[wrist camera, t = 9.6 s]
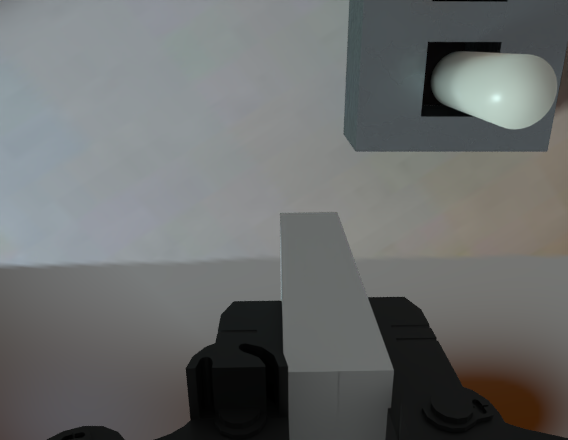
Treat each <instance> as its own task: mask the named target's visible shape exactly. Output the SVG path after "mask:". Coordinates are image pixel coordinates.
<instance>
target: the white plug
mask: <svg viewBox="0 0 568 440" xmlns="http://www.w3.org/2000/svg"><path fill="white" fill-rule="evenodd" d="M431 89H432V92H433V94H434V96H435V98H436V99H437V100H438V101H439V102H440V103H442V104H443V105H446V106H448V107H451V108H453V109H456V110H459V111H461V112H464V113H467V114H469V115H472V116H475V117H477V118H480V119H483V120H485V121H488V122H490V123H493V124H496V125H498V126H501V127H504V128H507V129H522V128H526V127H529V126H531V125H533V124H535V123H536V122H538V121H539V120H541V119H542V118H543V117H544V116H545V115H546V114H547V112H548V111H549V110H550V108H551V107H552V105H553V103H554V100H555V97H556V93H557V78H556V75H555V72H554V70H553V68H552V67H551V65H550V64H549V63H548V62H547V61H545V60H544V59H542V58H541V57H538V56H535V55H530V54H510V53H490V52H469V51H457V52H453V53H450V54H448V55H446V56H445V57H443V58H442V59H441V60H440V61H439V62H438V63H437V65H436V66H435V68H434V70H433V72H432V76H431Z"/></svg>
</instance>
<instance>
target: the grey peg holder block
mask: <svg viewBox="0 0 568 440" xmlns="http://www.w3.org/2000/svg"><path fill="white" fill-rule="evenodd" d="M428 42H465V44H464V51H469V52H490V53H510V54H530V55H535V56H538V57H541V58H542V59H544V60H545V61H547V62H548V63H549V64H550V65H551V67H552V68H553V70H554V72H555V75H556V78H557V93H556V97H555V100H554V103H553V105H552V107H551V108H550V110H549V111H548V112H547V114H546V115H545V116H544V117H543V118H542V119H541V120H539V121H538V122H536V123H535V124H533V125H531V126H529V127H526V128H522V129H507V128H504V127H501V126H498V125H496V124H493V123H490V122H488V121H485V120H483V119H480V118H477V117H475V116H472V115H469V114H467V113H464V112H461V111H459V110H456V109H453V108H451V107H448V106H446V105H422V99H423V88H424V78H425V68H426V57H427V47H428ZM567 43H568V0H470V1H432V0H350V2H349V25H348V47H347V70H346V93H345V116H344V136H345V137H346V138H347V140H348V141H349V143H350V144H351V145H352V147H353V148H354V150H355V151H547V150H548V145H549V139H550V134H551V129H552V123H553V118H554V113H555V107H556V102H557V97H558V91H559V86H560V81H561V75H562V70H563V65H564V59H565V54H566V49H567Z"/></svg>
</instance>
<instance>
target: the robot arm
mask: <svg viewBox="0 0 568 440" xmlns="http://www.w3.org/2000/svg"><path fill="white" fill-rule="evenodd" d="M280 250H281V301H235V302H233V303H232V304H231V305H230V306H229V307H228V308H227V309H226V310H225V311H224V312H223V313H222V314H221V318H220V323H219V328H218V334H217V338H216V343H215V344H212V345H209V346H207V347H205V348H204V349H202V350H201V351H199V352H198V353H197V354H195V355H194V356H193V357H192V359H191V360H190V362H189V364H188V366H187V367H186V376H187V386H188V397H189V407H190V418H191V420H190V421H189V422H188V423H187V424H186V425H185V426H184V427H182V428H180V429H178V430H177V431H175V432H173V433H171V434H169V435H166V436H164V437H161V438H158V439H155V440H568V438H564V437H560V436H555V435H550V434H546V433H541V432H536V431H531V430H527V429H523V428H520V427H516V426H513V425H510V424H508V423H505V422H504V420H503V419H502V417H501V415H500V414H499V412H498V411H497V410H496V409H495V408H494V406H493V405H492V404H491V403H490V402H489V401H488V400H487V399H485V398H484V397H482V396H481V395H479V394H477V393H476V392H474V391H473V390H470V389H467V388H464V387H463V386H462V385H461V382H460V380H459V379H458V377H457V375H456V373H455V371H454V369H453V368H452V366H451V364H450V362H449V360H448V358H447V357H446V355H445V353H444V351H443V349H442V347H441V345H440V344H439V342H438V341H437V340H436V336H435V334H434V332H433V331H432V329H431V328H430V327H429V323H428V321H427V319H426V318H425V316H424V314H423V312H422V310H421V309H420V308H418V307H417V306H416V305H414V304H413V303H412V302H410V301H409V300H408V299H406V298H405V297H367V294H366V291H365V288H364V286H363V283H362V280H361V277H360V274H359V272H358V269H357V266H356V263H355V260H354V258H353V255H352V252H351V249H350V247H349V244H348V241H347V238H346V235H345V233H344V230H343V227H342V224H341V221H340V219H339V216H338V213H337V212H316V213H280ZM47 440H124V438H123V437H122V436H121V435H120V434H119V433H118V432H117V431H114V430H111V429H109V428H106V427H104V426H82V427H79V428H74V429H71V430H67V431H63V432H61V433H59V434H57V435H55V436H53V437H51V438H49V439H47Z"/></svg>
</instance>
